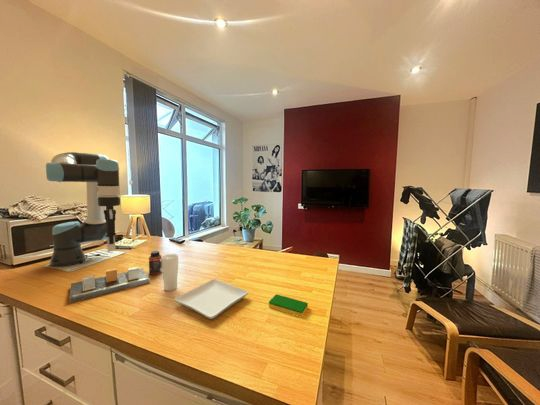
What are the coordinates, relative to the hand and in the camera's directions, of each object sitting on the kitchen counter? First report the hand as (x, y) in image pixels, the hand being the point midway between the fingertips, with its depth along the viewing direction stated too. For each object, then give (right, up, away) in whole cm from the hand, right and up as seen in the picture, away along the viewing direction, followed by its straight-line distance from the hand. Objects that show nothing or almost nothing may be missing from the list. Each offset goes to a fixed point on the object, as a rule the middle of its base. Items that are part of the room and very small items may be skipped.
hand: (111, 250), depth 92 cm
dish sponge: (+76, -21, -9) cm, 79 cm away
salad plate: (+45, -20, -6) cm, 50 cm away
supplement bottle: (+8, -17, +21) cm, 28 cm away
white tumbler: (+24, -18, +4) cm, 30 cm away
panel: (-5, -17, +6) cm, 19 cm away
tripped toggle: (-5, -15, +6) cm, 17 cm away
